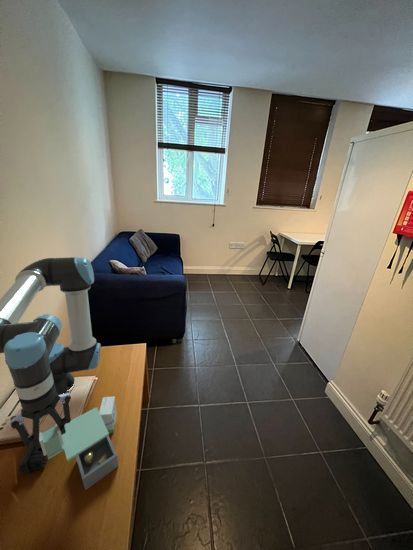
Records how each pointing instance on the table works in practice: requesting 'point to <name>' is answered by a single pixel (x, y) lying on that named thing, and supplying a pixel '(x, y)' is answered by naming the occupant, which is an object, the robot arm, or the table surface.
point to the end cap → (32, 459)
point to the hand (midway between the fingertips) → (53, 446)
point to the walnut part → (103, 459)
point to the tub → (95, 470)
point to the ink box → (108, 413)
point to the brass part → (89, 458)
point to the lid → (76, 435)
